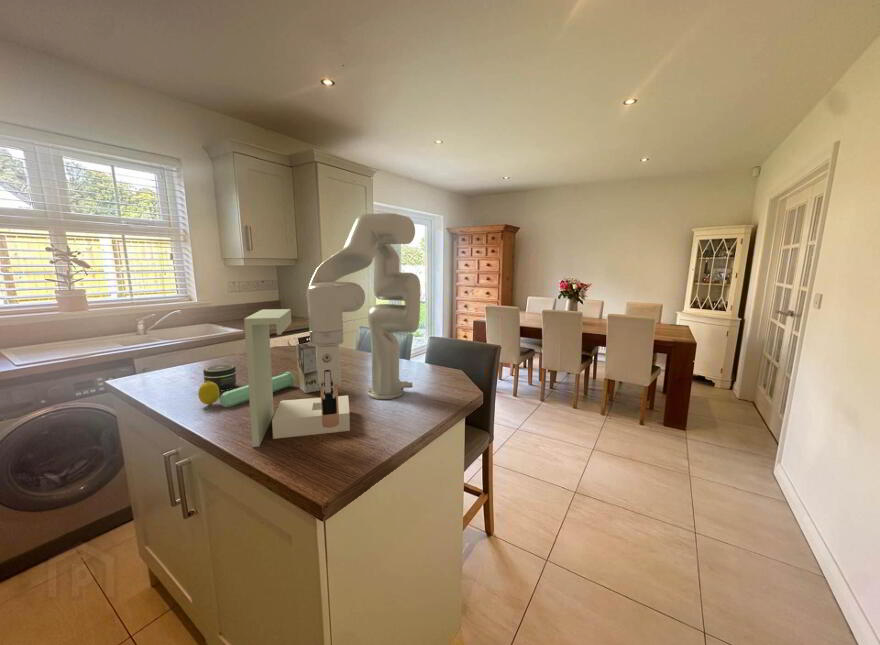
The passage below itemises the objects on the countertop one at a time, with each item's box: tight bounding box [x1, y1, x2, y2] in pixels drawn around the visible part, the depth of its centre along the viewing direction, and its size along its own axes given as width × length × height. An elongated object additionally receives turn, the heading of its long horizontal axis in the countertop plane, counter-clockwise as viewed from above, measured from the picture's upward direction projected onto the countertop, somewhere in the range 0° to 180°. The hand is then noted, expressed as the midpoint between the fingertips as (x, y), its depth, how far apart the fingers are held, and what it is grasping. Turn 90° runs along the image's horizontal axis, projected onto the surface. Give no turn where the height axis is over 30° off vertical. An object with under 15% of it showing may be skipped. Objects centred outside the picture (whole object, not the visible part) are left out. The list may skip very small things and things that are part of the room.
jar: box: [202, 363, 237, 392], centre depth 127 cm, size 10×10×8 cm
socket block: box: [271, 394, 351, 440], centre depth 99 cm, size 19×14×5 cm
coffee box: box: [296, 342, 321, 394], centre depth 127 cm, size 9×6×16 cm
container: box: [219, 371, 296, 408], centre depth 120 cm, size 6×6×25 cm
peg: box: [320, 383, 339, 428], centre depth 86 cm, size 4×4×12 cm
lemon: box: [197, 381, 221, 406], centre depth 110 cm, size 6×6×8 cm
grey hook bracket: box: [243, 308, 292, 448], centre depth 94 cm, size 8×20×32 cm, turn 16°
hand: (330, 409), depth 86 cm, fingers closed on peg, 4 cm apart
